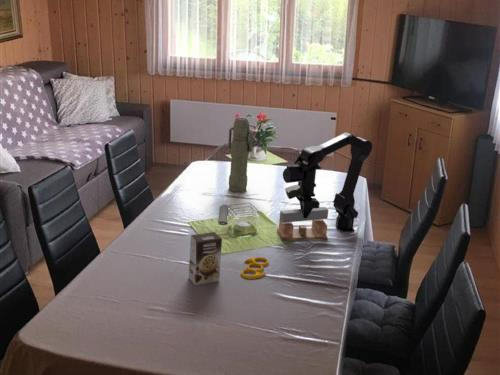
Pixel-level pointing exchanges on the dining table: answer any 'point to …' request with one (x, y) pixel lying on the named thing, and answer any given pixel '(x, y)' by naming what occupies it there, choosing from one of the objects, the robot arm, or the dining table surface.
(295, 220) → the grey long bar
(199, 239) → the brown food box
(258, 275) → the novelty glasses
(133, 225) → the dining table surface
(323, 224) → the display stand
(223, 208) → the gray half cylinder
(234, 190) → the thermos
